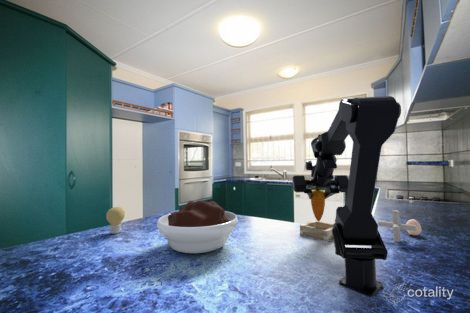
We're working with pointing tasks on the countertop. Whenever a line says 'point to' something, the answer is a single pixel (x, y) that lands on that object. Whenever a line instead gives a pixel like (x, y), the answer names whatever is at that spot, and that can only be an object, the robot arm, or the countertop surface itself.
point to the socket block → (317, 230)
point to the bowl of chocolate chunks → (197, 227)
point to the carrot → (318, 203)
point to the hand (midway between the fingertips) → (316, 198)
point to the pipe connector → (396, 225)
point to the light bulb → (115, 219)
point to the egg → (418, 227)
